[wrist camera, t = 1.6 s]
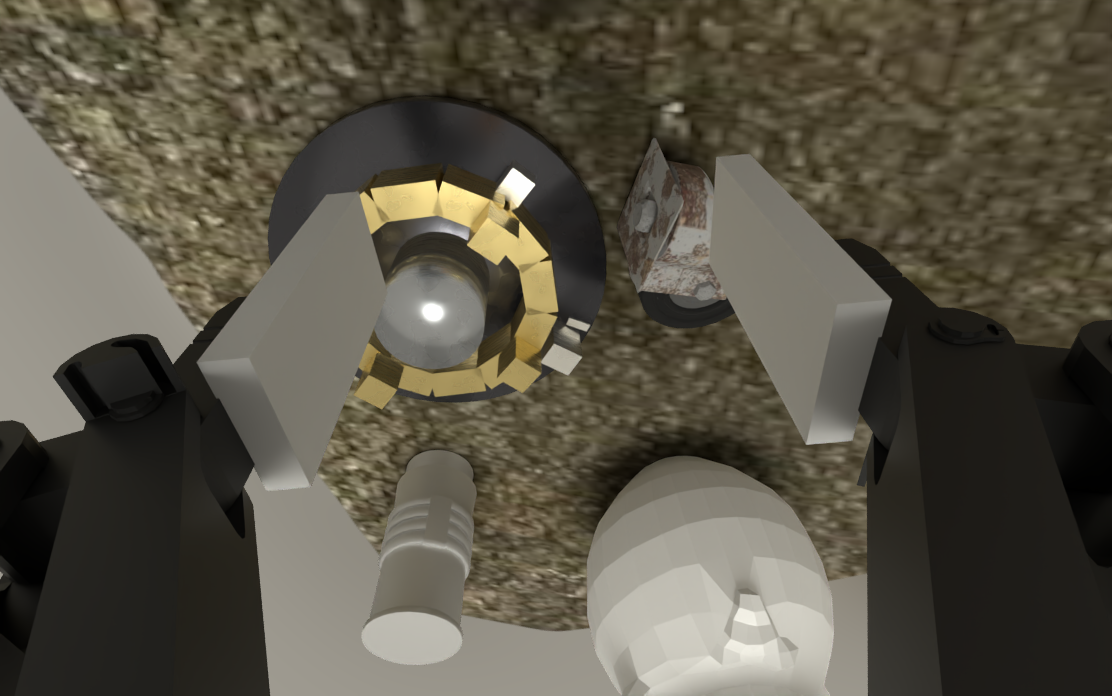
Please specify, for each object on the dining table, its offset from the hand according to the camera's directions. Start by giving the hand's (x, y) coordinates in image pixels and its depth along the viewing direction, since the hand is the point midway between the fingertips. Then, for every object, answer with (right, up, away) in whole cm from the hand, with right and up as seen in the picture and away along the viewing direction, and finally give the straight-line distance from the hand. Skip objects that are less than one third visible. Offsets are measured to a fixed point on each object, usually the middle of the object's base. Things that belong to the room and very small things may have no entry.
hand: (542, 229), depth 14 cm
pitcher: (+12, -16, +41) cm, 45 cm away
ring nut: (-7, +2, +25) cm, 26 cm away
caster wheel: (+9, +5, +26) cm, 28 cm away
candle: (-10, -14, +38) cm, 42 cm away
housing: (-7, +3, +26) cm, 27 cm away
